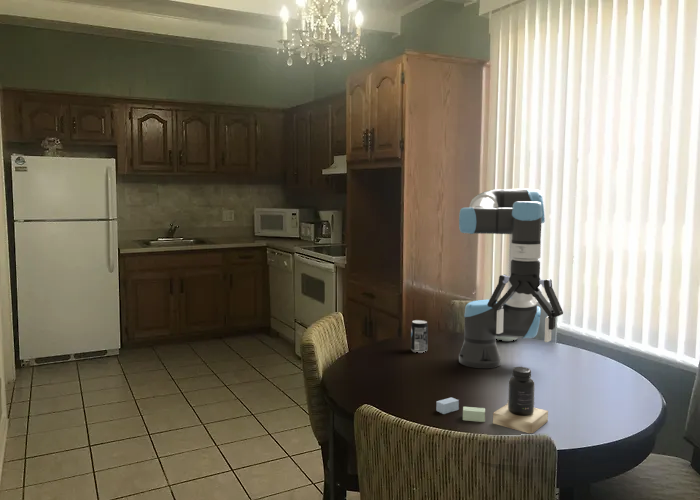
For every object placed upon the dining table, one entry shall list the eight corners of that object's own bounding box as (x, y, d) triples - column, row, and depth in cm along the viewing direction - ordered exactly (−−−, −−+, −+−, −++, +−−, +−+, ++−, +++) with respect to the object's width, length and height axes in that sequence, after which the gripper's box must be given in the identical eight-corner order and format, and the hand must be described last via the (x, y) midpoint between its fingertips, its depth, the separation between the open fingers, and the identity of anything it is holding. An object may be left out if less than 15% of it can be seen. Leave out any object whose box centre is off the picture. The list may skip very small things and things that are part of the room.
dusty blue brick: (443, 414, 163) (443, 404, 163) (436, 411, 166) (436, 401, 166) (458, 410, 167) (458, 400, 167) (451, 407, 169) (451, 397, 169)
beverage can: (415, 348, 234) (416, 319, 233) (430, 350, 230) (430, 321, 229) (407, 351, 228) (408, 322, 227) (422, 354, 225) (422, 324, 223)
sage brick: (462, 420, 159) (462, 410, 159) (463, 416, 162) (463, 406, 162) (484, 422, 158) (485, 412, 157) (484, 418, 161) (485, 408, 160)
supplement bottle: (504, 407, 160) (505, 365, 159) (527, 406, 161) (529, 365, 160) (513, 417, 153) (514, 373, 152) (538, 416, 154) (539, 372, 153)
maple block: (492, 423, 157) (493, 412, 156) (510, 411, 165) (510, 401, 165) (531, 434, 150) (532, 423, 149) (547, 421, 158) (548, 410, 158)
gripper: (476, 257, 158) (474, 332, 160) (567, 264, 142) (564, 347, 144) (488, 254, 164) (487, 327, 166) (577, 261, 148) (574, 341, 150)
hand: (523, 337), depth 155 cm, fingers open, 13 cm apart
